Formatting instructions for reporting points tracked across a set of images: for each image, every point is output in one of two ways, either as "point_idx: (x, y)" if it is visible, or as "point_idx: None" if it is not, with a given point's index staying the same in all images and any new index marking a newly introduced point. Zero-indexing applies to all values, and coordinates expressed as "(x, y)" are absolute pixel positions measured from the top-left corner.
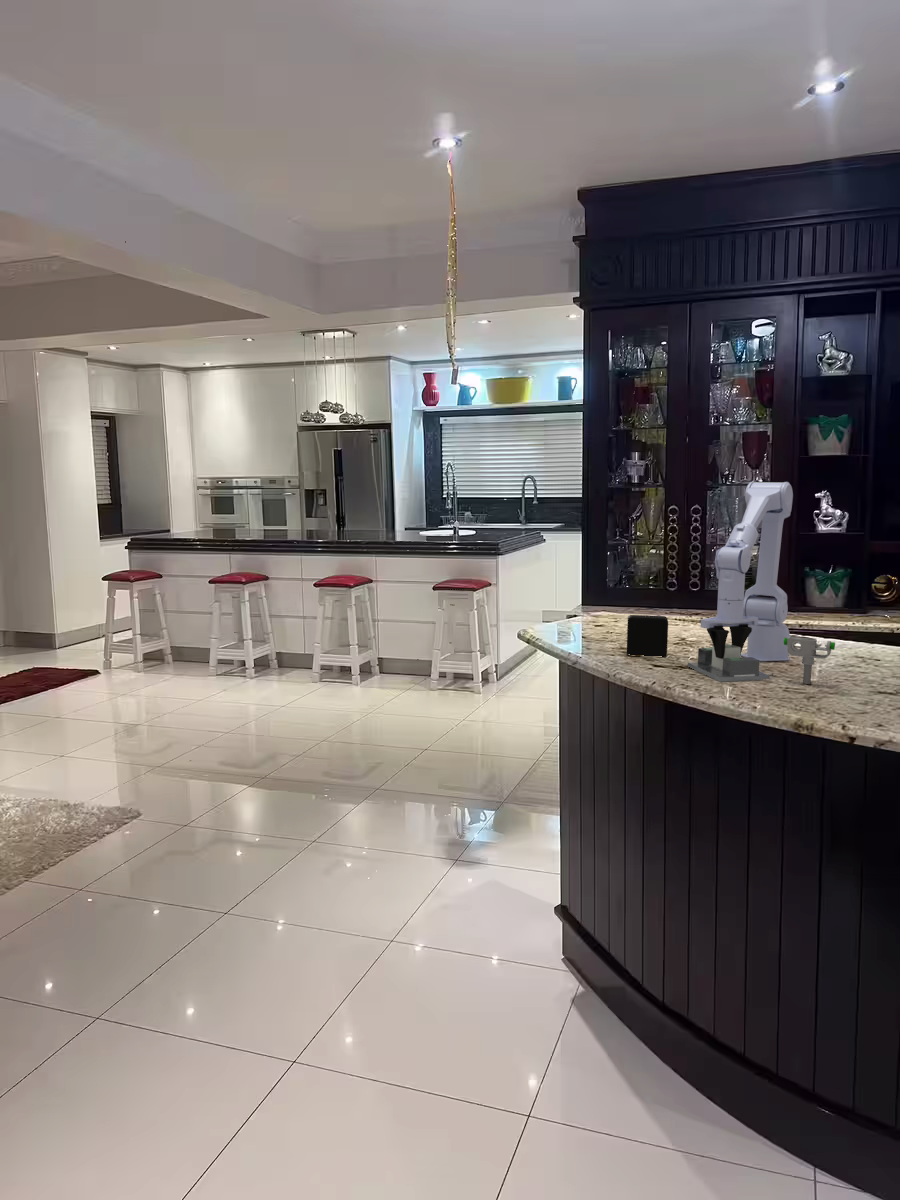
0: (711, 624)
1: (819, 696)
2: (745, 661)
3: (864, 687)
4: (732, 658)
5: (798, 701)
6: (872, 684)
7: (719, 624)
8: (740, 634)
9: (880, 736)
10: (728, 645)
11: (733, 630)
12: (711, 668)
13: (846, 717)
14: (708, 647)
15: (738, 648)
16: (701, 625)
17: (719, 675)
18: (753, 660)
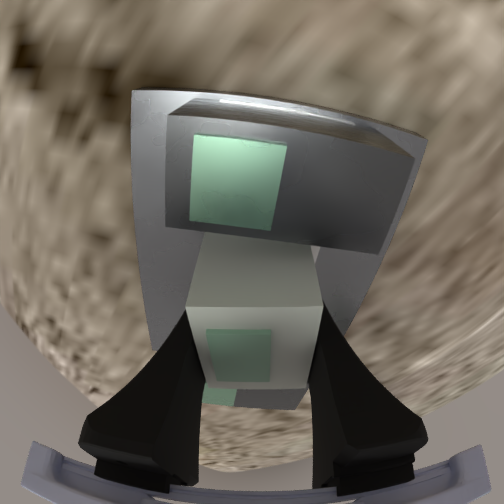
0: (93, 486)
1: (296, 429)
2: (239, 404)
3: (425, 402)
4: (203, 392)
5: (235, 435)
6: (456, 390)
7: (163, 497)
8: (316, 448)
9: (224, 471)
10: (258, 369)
11: (332, 440)
12: (186, 248)
13: (240, 458)
14: (253, 142)
15: (290, 384)
16: (34, 454)
17: (160, 336)
18: (270, 408)
